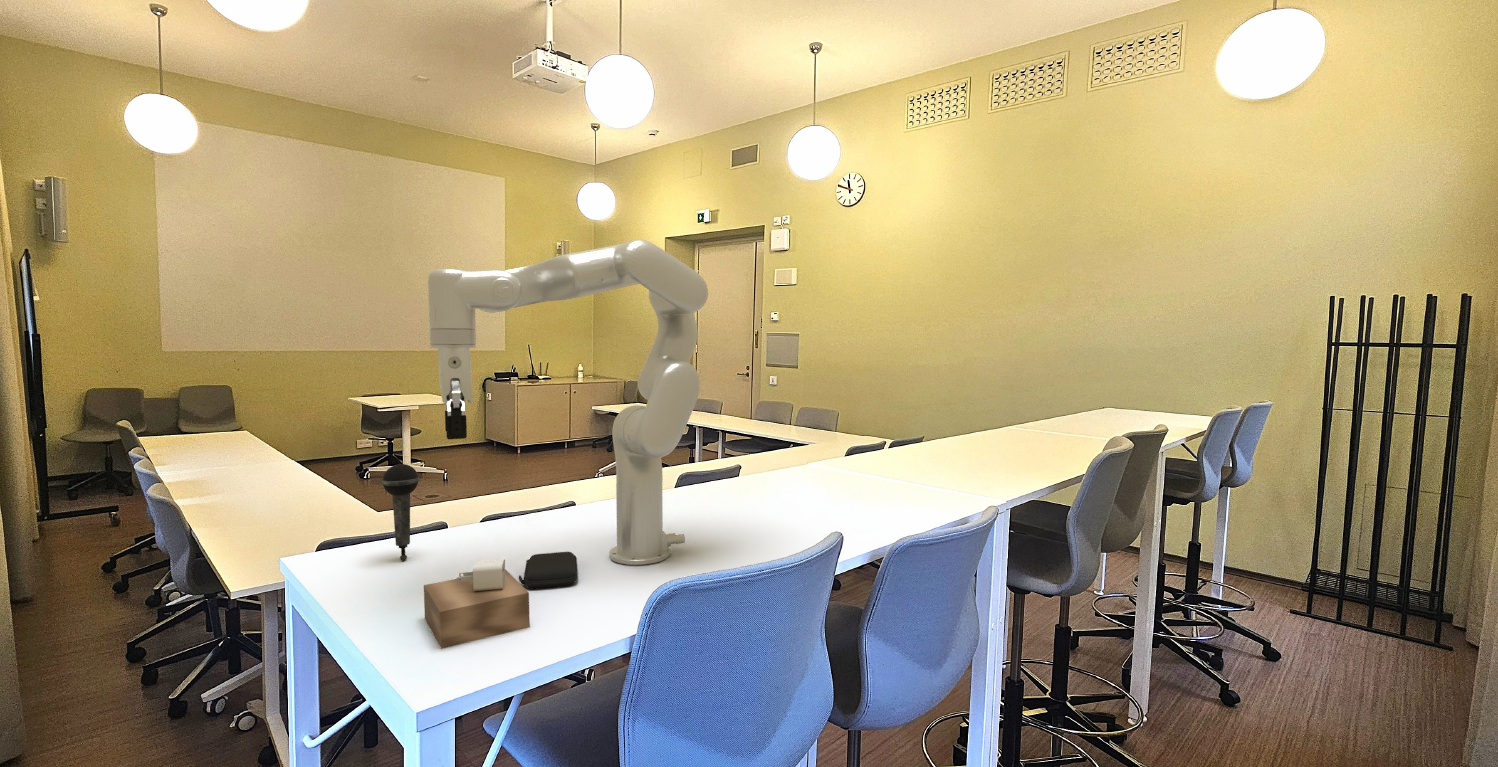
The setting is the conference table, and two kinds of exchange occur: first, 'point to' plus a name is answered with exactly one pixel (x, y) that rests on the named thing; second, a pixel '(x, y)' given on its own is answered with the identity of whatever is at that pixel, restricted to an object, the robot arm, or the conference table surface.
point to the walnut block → (474, 610)
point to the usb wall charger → (486, 575)
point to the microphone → (401, 500)
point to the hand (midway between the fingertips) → (455, 434)
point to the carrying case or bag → (550, 570)
